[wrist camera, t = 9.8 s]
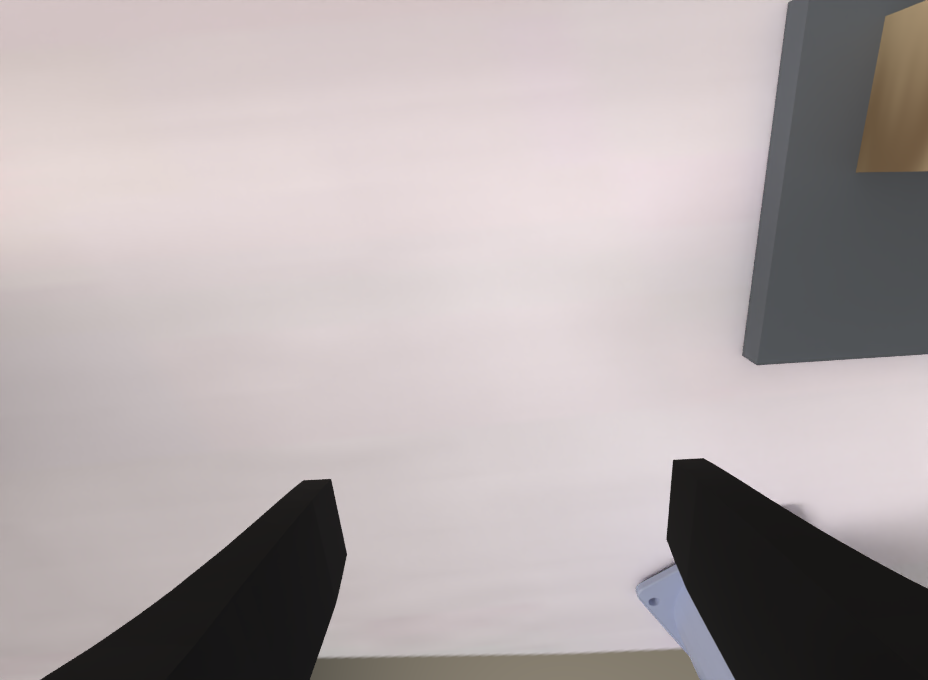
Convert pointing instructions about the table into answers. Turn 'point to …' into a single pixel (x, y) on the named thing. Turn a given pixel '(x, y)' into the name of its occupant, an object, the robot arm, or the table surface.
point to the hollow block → (899, 97)
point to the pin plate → (835, 205)
